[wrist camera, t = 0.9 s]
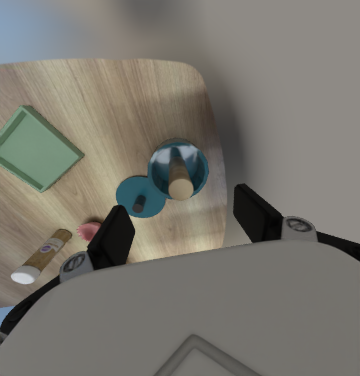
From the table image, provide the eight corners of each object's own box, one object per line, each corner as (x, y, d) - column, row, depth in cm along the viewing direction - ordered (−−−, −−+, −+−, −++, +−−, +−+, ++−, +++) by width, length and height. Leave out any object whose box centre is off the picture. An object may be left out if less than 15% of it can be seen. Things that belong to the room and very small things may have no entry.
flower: (100, 211, 39) (89, 224, 34) (115, 229, 42) (108, 243, 37) (77, 220, 39) (64, 234, 34) (95, 236, 43) (85, 251, 38)
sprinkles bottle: (70, 229, 41) (29, 273, 29) (73, 239, 43) (36, 284, 31) (54, 228, 40) (5, 273, 28) (58, 238, 42) (15, 284, 30)
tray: (30, 105, 26) (20, 104, 24) (84, 155, 31) (79, 157, 29) (-7, 151, 29) (-18, 153, 27) (47, 189, 34) (41, 193, 32)
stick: (178, 153, 32) (184, 174, 19) (187, 165, 33) (198, 192, 21) (165, 162, 32) (163, 188, 20) (175, 174, 34) (178, 204, 22)
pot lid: (143, 165, 33) (138, 173, 28) (174, 200, 39) (175, 212, 34) (106, 193, 36) (96, 205, 31) (141, 222, 42) (137, 236, 37)
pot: (182, 125, 29) (186, 127, 23) (209, 168, 35) (218, 179, 28) (141, 158, 32) (134, 168, 25) (172, 193, 37) (172, 208, 31)
